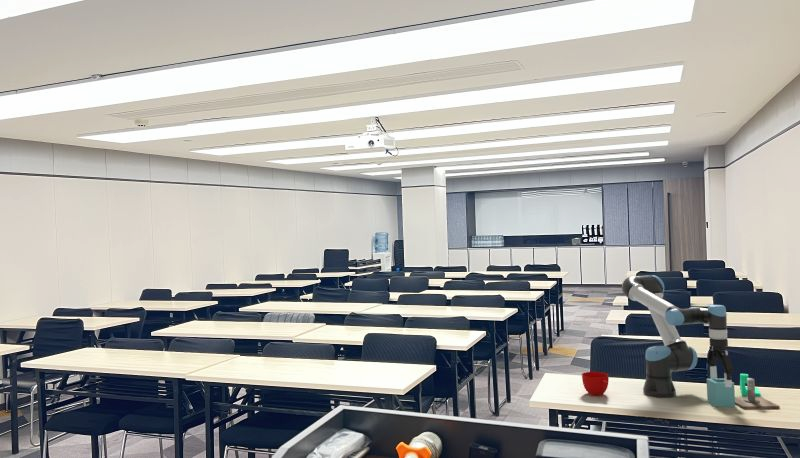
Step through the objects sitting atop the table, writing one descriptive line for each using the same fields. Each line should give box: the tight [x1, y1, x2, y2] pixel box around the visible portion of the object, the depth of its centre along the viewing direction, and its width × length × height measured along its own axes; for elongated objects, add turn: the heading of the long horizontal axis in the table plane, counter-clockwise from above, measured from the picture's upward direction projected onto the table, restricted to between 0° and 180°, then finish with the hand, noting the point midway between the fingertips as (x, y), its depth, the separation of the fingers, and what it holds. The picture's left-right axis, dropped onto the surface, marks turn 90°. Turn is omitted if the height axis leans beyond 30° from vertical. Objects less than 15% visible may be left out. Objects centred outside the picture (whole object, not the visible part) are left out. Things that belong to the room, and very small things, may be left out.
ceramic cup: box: [581, 371, 609, 397], centre depth 288 cm, size 13×17×10 cm
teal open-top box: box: [706, 377, 736, 408], centre depth 267 cm, size 8×8×11 cm
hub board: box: [735, 377, 781, 410], centre depth 266 cm, size 16×16×12 cm
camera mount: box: [739, 373, 761, 397], centre depth 281 cm, size 12×8×10 cm, turn 154°
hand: (720, 383), depth 267 cm, fingers open, 13 cm apart
